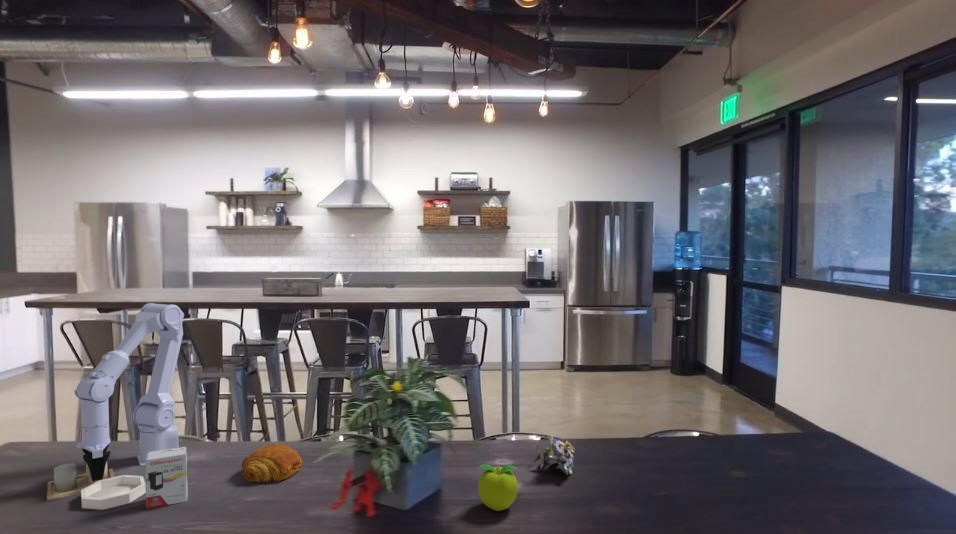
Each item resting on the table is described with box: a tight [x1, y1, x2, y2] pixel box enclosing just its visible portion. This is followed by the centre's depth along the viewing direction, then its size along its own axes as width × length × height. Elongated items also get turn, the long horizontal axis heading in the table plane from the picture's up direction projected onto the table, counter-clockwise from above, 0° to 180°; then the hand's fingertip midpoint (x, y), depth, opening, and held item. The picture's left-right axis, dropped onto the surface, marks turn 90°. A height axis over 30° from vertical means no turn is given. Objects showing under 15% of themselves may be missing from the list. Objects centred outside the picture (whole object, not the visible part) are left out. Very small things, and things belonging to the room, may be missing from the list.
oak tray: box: [46, 468, 115, 501], centre depth 136 cm, size 14×11×1 cm
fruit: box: [477, 463, 519, 512], centre depth 126 cm, size 9×9×10 cm
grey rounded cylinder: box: [85, 461, 108, 485], centre depth 138 cm, size 4×4×5 cm
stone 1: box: [53, 462, 78, 492], centre depth 134 cm, size 4×4×5 cm
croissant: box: [241, 443, 303, 483], centre depth 145 cm, size 14×16×8 cm
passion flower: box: [533, 435, 577, 476], centre depth 146 cm, size 11×11×12 cm
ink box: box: [145, 446, 189, 510], centre depth 128 cm, size 9×5×12 cm, turn 117°
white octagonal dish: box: [80, 474, 146, 511], centre depth 130 cm, size 13×13×3 cm
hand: (97, 476), depth 138 cm, fingers closed on grey rounded cylinder, 4 cm apart
